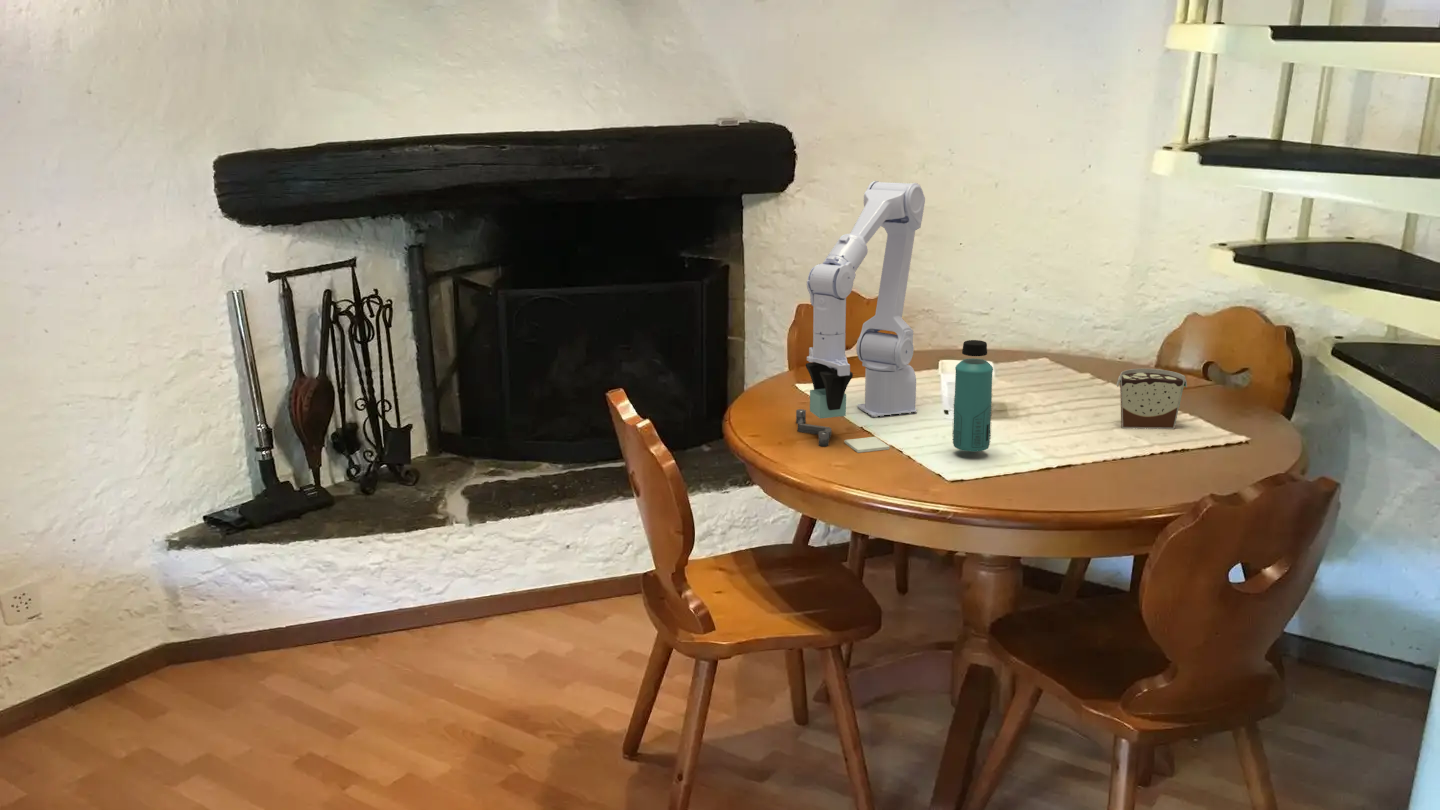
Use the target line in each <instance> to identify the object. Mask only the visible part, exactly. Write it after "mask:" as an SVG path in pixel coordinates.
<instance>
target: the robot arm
mask: <svg viewBox="0 0 1440 810" xmlns="http://www.w3.org/2000/svg"><path fill="white" fill-rule="evenodd" d="M925 203H926V196H925V194H924V191H923V189H922V187H921V184H919V183H918V182H912V183H910V182H909V183H908V182H907V183H906V182H889V181H888V182H887V181H886V182H885V181H879V180H874V181H871V182H870V183H869V184H868V186H867V187H866V190H865V191H864V193H863V209H862V211H861V212H860V214H859V216H858V218H857V220H856V221H855V223H854V225H853V227H852V229H851V231H850V232H849V233H844V234H842V235H841V236H840V237H839V238H838V239H837V240H836V243H835V244H834V245H833V247H832V248H831V250H830V251H829V253H828V255H827V256H826V257H825V259H824V260H823V262H822V263H819V264H818V263H817V264H816V265H815V266H813V267H812V268H811V269H810V271H809V273H808V275H807V280H806V288H807V292H808V294H809V297H810V300H809V301H810V305H811V306H812V307H813V308H812V309H813V311H812V312H813V317H812V318H813V321H812V322H813V324H812V327H813V329H812V333H813V335H812V336H813V337H812V346H811V347H809V348H808V356H806V361H808V362H806V363H805V368H806V370H807V372H808V373H809V376H810V379H811V383H812V386H813V390H816V389H825V391H826V400H827V406H828V409H829V410H838V409H840V408H841V404H842V401H843V397H844V393H845V392H846V391H847V387H848V385H849V383H850V381H851V380H852V379H853V377H854V373H853V372H852V371H851V364H850V363H848V359H847V355H846V328H847V327H846V321H847V320H846V318H847V317H846V314H847V297H848V296H849V295H850V294H851V293H852V290H853V287H854V281H855V279H856V276H857V275H856V271H857V270H858V269H859V267H860V266H861V264H862V263H863V262H864V259H865V258H866V257H867V255H868V250H869V249H868V245H867V244H868V242H869V241H870V240H871V239H872V238H873V237H874V235H876V233H877V231H878V230H879V229H880V228H881V227H882V228H884V230H885V232H886V235H887V236H886V242H885V249H884V256H883V263H882V269H881V275H880V282H879V287H878V288H879V289H878V293H877V302H876V309H875V315H874V316H872V317H871V318H869V319H868V320H866V321H864V322H863V324H862V327H861V331H860V334H859V337H858V338H857V342H856V355H857V358H858V360H859V361H860V362H862V364H861V365H862V367H864V368H865V374H864V375H865V379H864V381H865V382H864V383H865V384H864V403H859V404H858V403H857V404H856V407H857V408H858V409H860V410H861V411H862V412H865V413H866V414H867V413H868V414H867V415H869V416H870V415H871V416H870V417H871V418H877V417H876V416H880V417H885V416H884V415H890V416H892V415H891V414H899V415H902V414H901V413H909V414H911V413H910V412H916V411H917V412H918V410H917V409H916V403H917V402H916V400H917V399H916V398H917V375H916V372H915V370H914V368H913V366H911V365H910V363H911V361H912V358H913V355H914V351H915V350H914V330H913V328H912V327H911V326H910V325H909V324H908V323H907V322H906V321H905V320H904V319H903V312H904V307H905V300H906V299H905V298H906V294H907V288H908V287H907V286H908V282H909V281H908V279H909V273H910V268H911V261H912V255H913V249H914V242H915V236H916V231H918V230H920V229H921V226H922V222H923V215H924V210H925ZM880 331H885V332H880ZM886 331H888V332H894V333H886ZM845 394H846V393H845ZM917 412H916V413H917Z"/></svg>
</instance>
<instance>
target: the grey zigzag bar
mask: <svg viewBox="0 0 1440 810" xmlns="http://www.w3.org/2000/svg"><path fill="white" fill-rule="evenodd" d="M806 413H807V410H806V409H803V408H802V409H801V408H799V409H796V410H795V423H796V424H797V432H799V433H802V434H803V433H805V434H811V435H818V446H819V447H822V448H823V447H824V448H825V447H828V446H829V443H830V440H831V437H832V428H831V427H830V426H826V425H825V426H823V425H816V424H809V423H807V422H806V417H807V416H806V415H807V414H806Z"/></svg>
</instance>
